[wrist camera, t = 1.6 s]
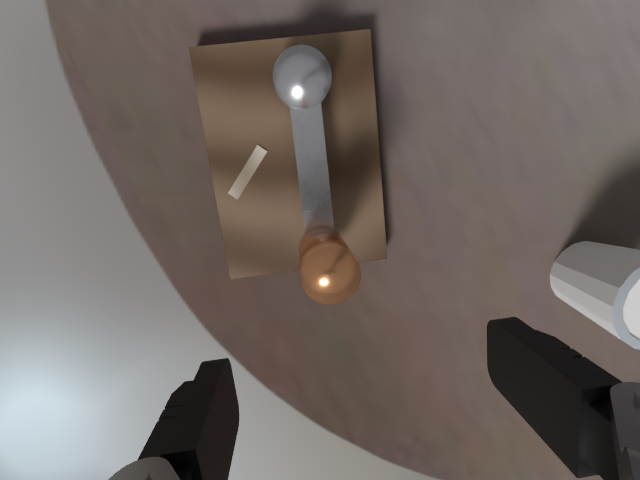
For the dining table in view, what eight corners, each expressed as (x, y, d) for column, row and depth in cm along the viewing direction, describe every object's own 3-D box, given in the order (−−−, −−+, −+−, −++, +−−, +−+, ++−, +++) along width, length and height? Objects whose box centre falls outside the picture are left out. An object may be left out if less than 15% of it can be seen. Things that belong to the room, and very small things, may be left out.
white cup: (547, 235, 30) (622, 257, 23) (625, 232, 30) (722, 253, 24) (538, 312, 31) (606, 355, 25) (612, 308, 32) (699, 348, 25)
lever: (270, 57, 24) (260, 10, 16) (325, 52, 24) (340, 2, 16) (298, 266, 27) (300, 308, 19) (346, 260, 27) (366, 299, 20)
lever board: (194, 53, 25) (188, 46, 23) (366, 36, 26) (370, 28, 24) (233, 272, 29) (230, 279, 27) (382, 253, 29) (387, 258, 28)
